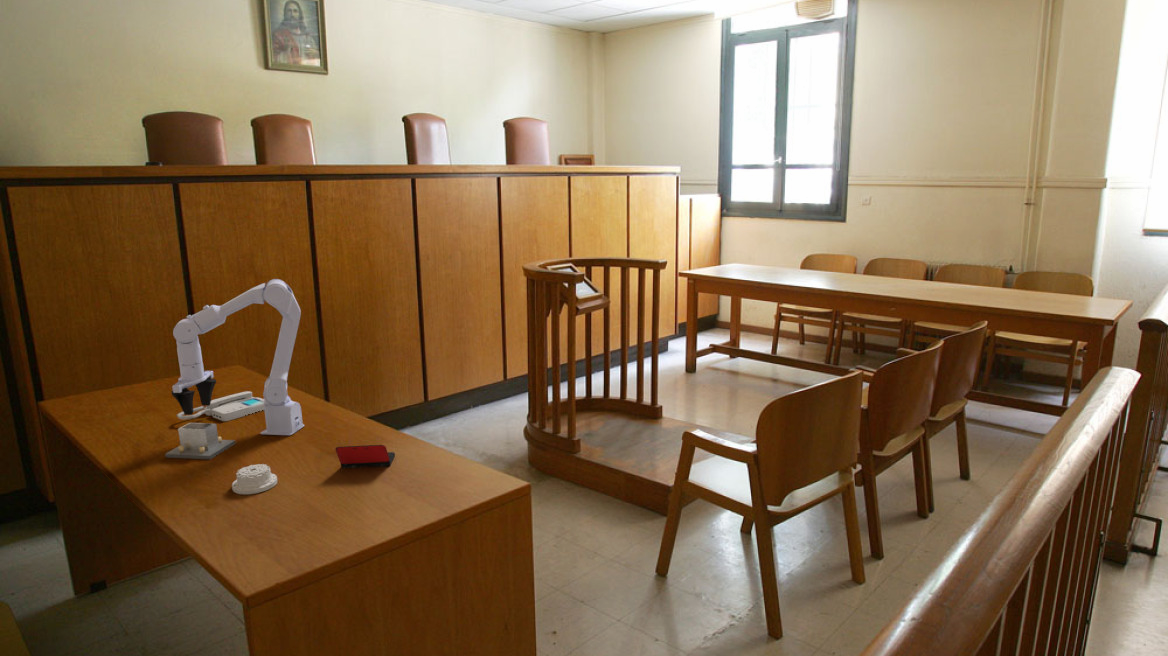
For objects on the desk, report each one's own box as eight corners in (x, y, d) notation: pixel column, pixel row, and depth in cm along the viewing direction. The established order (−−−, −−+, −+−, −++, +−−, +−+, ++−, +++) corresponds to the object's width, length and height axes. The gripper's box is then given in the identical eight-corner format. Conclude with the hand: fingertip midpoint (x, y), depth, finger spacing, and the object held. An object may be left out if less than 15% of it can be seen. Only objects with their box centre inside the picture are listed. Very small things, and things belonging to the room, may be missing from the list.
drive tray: (235, 443, 201) (234, 435, 200) (210, 459, 190) (209, 450, 190) (193, 441, 203) (192, 433, 202) (165, 457, 192) (164, 448, 192)
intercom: (169, 410, 218) (248, 388, 237) (171, 423, 219) (250, 401, 238) (190, 418, 210) (270, 395, 229) (192, 432, 211) (272, 408, 230)
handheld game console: (396, 455, 191) (394, 429, 190) (387, 472, 181) (385, 445, 179) (348, 457, 191) (345, 431, 189) (337, 474, 180) (334, 447, 178)
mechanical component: (223, 494, 170) (260, 497, 168) (220, 476, 169) (258, 479, 167) (250, 476, 180) (286, 479, 178) (248, 460, 179) (284, 462, 177)
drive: (218, 444, 198) (216, 423, 197) (208, 450, 193) (205, 429, 192) (192, 443, 199) (189, 422, 198) (181, 449, 195) (177, 428, 193)
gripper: (194, 355, 205) (201, 400, 208) (159, 369, 191) (166, 418, 194) (217, 356, 205) (223, 401, 208) (183, 370, 191) (190, 418, 194)
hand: (197, 409), depth 201 cm, fingers open, 7 cm apart
